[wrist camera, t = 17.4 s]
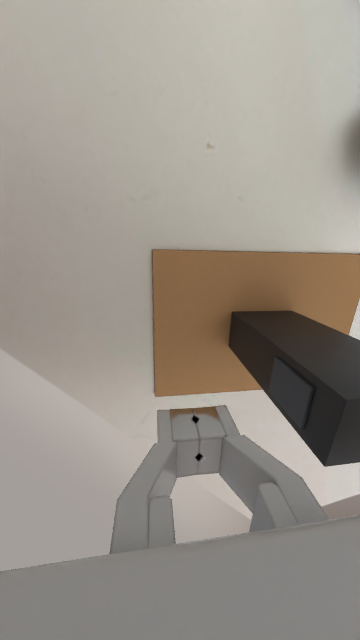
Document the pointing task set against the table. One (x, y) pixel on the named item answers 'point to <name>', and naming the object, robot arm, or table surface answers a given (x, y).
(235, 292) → the mat
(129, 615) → the robot arm
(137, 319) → the table surface
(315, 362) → the device
